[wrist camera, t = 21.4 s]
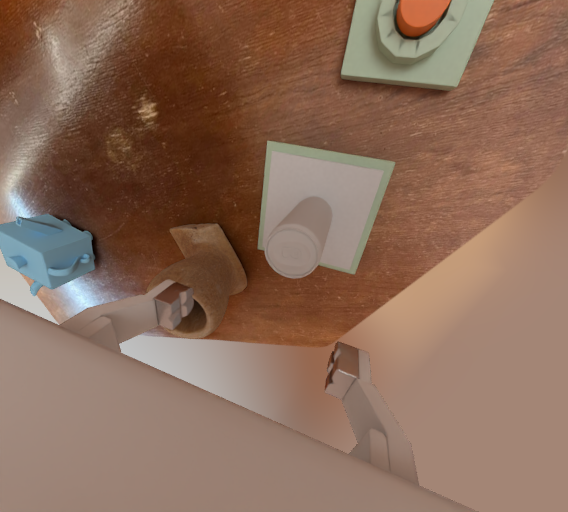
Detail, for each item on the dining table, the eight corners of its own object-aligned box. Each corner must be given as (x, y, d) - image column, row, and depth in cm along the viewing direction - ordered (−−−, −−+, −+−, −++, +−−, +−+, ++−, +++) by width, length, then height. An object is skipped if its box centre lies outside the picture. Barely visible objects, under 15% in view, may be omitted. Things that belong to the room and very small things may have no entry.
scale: (392, 161, 26) (397, 162, 23) (354, 266, 33) (354, 277, 30) (273, 140, 28) (264, 140, 25) (262, 243, 35) (255, 251, 33)
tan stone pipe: (265, 285, 39) (223, 352, 26) (215, 293, 44) (158, 355, 31) (230, 205, 34) (155, 241, 21) (177, 225, 39) (90, 264, 26)
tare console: (508, -48, 17) (541, -89, 14) (450, 91, 22) (466, 82, 19) (368, -49, 19) (371, -85, 16) (340, 79, 24) (339, 69, 21)
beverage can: (332, 232, 28) (320, 282, 18) (296, 231, 29) (266, 277, 19) (333, 194, 26) (320, 226, 16) (294, 195, 27) (259, 225, 17)
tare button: (456, -25, 16) (466, -42, 15) (433, 38, 18) (440, 29, 17) (406, -26, 17) (411, -43, 16) (389, 35, 19) (392, 26, 17)
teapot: (105, 223, 44) (34, 244, 34) (110, 285, 53) (56, 317, 43) (40, 189, 44) (-46, 201, 35) (57, 257, 54) (-8, 281, 44)
